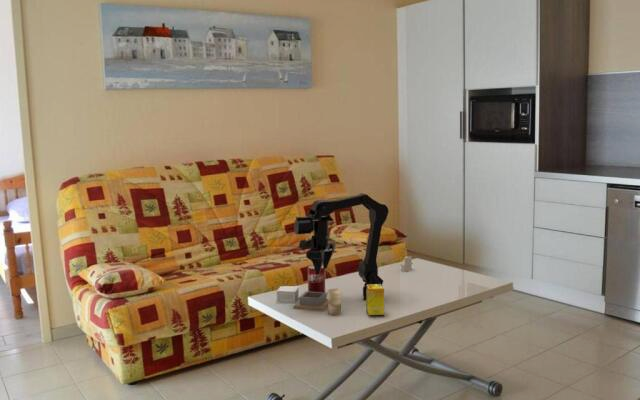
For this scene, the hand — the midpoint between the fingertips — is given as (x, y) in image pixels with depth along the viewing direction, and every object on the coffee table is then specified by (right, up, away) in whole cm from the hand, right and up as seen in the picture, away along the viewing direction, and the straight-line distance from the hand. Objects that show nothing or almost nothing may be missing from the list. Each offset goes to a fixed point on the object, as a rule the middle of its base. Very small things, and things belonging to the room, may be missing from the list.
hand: (321, 271), depth 236 cm
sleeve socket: (-3, -14, +1) cm, 14 cm away
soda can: (-2, -12, +16) cm, 20 cm away
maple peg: (+5, -15, -10) cm, 19 cm away
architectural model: (+41, -7, +54) cm, 69 cm away
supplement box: (+20, -15, -11) cm, 28 cm away
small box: (-14, -13, +8) cm, 21 cm away
